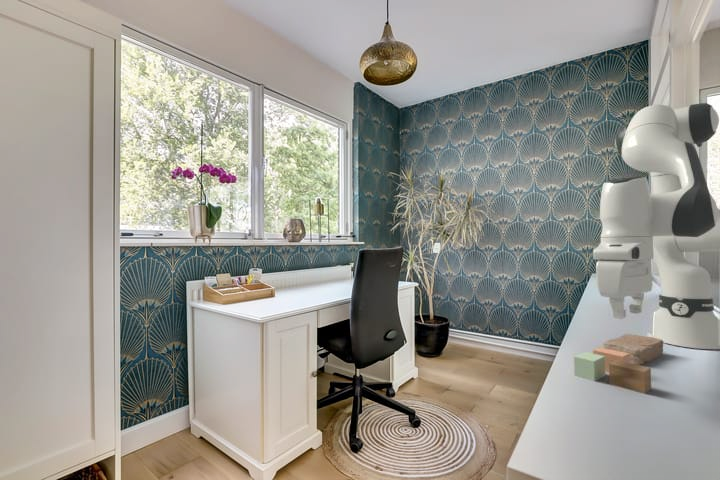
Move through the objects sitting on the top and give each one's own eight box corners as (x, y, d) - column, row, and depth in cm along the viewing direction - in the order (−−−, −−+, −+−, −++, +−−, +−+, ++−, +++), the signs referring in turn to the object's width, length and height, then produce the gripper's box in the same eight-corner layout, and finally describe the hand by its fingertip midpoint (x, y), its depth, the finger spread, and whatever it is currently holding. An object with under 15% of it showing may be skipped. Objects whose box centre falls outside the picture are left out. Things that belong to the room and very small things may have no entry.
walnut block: (609, 384, 72) (609, 363, 72) (616, 380, 74) (616, 360, 74) (644, 394, 67) (644, 372, 67) (651, 389, 69) (650, 367, 69)
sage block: (585, 370, 80) (585, 351, 80) (605, 375, 77) (604, 356, 77) (574, 376, 77) (574, 356, 77) (594, 381, 73) (593, 361, 73)
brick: (639, 367, 82) (638, 348, 82) (600, 358, 89) (600, 340, 90) (664, 356, 91) (664, 339, 91) (627, 348, 98) (627, 332, 98)
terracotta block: (593, 368, 81) (593, 350, 81) (600, 365, 83) (599, 347, 84) (623, 376, 76) (622, 356, 76) (629, 372, 79) (629, 353, 79)
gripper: (625, 250, 80) (627, 308, 79) (589, 251, 68) (590, 318, 68) (660, 250, 74) (662, 312, 74) (626, 251, 63) (628, 324, 62)
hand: (627, 315), depth 71 cm, fingers open, 8 cm apart
